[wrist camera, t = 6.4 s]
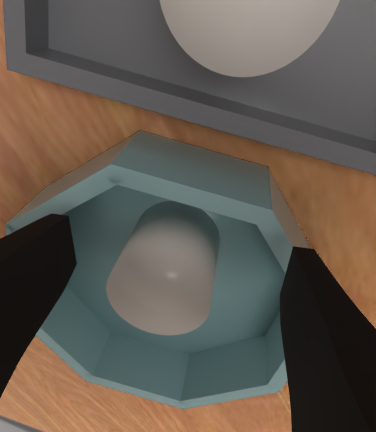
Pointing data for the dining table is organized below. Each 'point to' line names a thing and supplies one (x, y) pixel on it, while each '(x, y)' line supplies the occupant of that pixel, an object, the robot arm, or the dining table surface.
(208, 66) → the pebble
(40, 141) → the dining table surface
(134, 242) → the pebble
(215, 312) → the bowl
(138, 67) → the parts tray
